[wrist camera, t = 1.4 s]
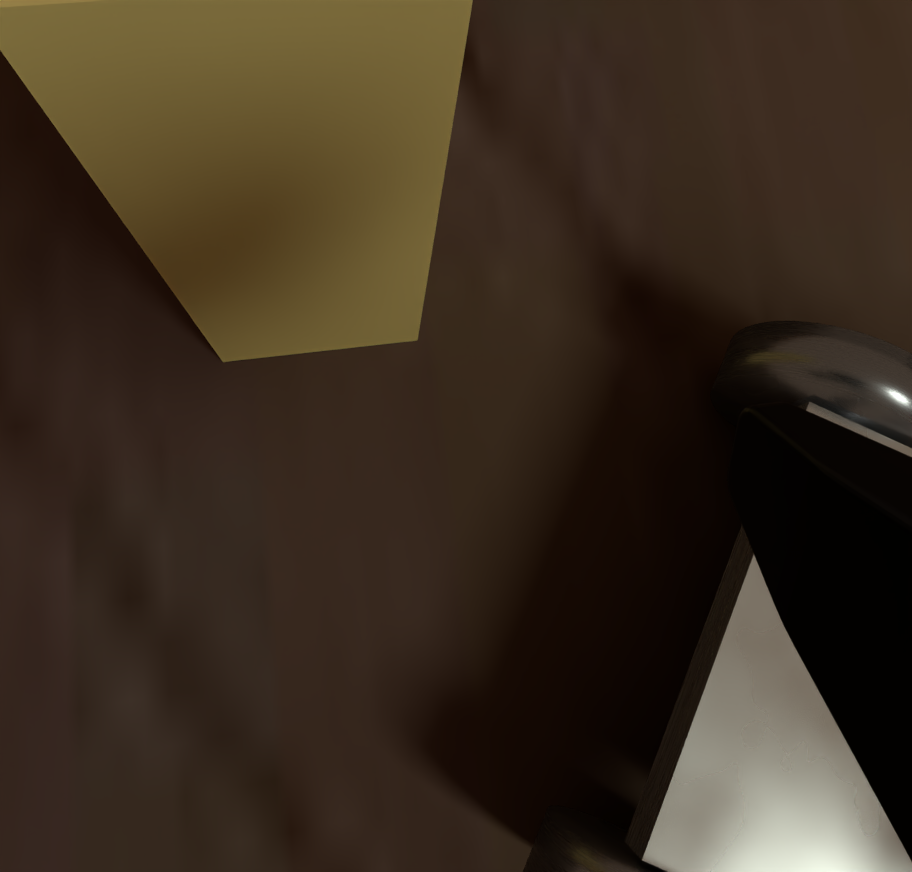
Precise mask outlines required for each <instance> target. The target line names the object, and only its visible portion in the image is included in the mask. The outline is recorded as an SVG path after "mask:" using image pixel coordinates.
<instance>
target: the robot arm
mask: <svg viewBox="0 0 912 872" xmlns="http://www.w3.org/2000/svg"><path fill="white" fill-rule="evenodd" d="M727 481H728V489H729V493H730V496H731V499H732V502H733V504H734V506H735V509H736V511H737V514H738V516H739V519H740V521H741V524H742V526H743V529H744V531H745V534H746V536H747V539H748V541H749V544H750V546H751V548H752V551H753V553H754V556H755V558H756V561H757V563H758V566H759V568H760V571H761V573H762V576H763V578H764V581H765V583H766V586H767V588H768V590H769V593H770V595H771V598H772V600H773V603H774V605H775V607H776V610H777V612H778V614H779V616H780V619H781V621H782V623H783V625H784V627H785V629H786V631H787V633H788V635H789V637H790V639H791V641H792V643H793V645H794V647H795V649H796V650H797V652H798V654H799V656H800V658H801V660H802V661H803V663H804V665H805V667H806V669H807V671H808V672H809V674H810V676H811V678H812V680H813V682H814V683H815V685H816V687H817V689H818V691H819V693H820V694H821V696H822V698H823V700H824V702H825V704H826V705H827V707H828V709H829V711H830V713H831V715H832V716H833V718H834V720H835V722H836V724H837V726H838V728H839V729H840V731H841V733H842V735H843V737H844V739H845V740H846V742H847V744H848V746H849V748H850V750H851V751H852V753H853V755H854V757H855V759H856V761H857V762H858V764H859V766H860V768H861V770H862V772H863V773H864V775H865V777H866V779H867V781H868V783H869V784H870V786H871V788H872V790H873V792H874V794H875V795H876V797H877V799H878V801H879V803H880V805H881V806H882V808H883V810H884V812H885V814H886V816H887V817H888V819H889V821H890V823H891V825H892V827H893V828H894V830H895V832H896V834H897V836H898V838H899V839H900V841H901V843H902V845H903V847H904V849H905V850H906V852H907V854H908V856H909V858H910V860H911V861H912V457H911V456H908V455H906V454H904V453H901V452H899V451H897V450H895V449H892V448H890V447H888V446H886V445H883V444H881V443H879V442H877V441H874V440H872V439H870V438H868V437H865V436H863V435H861V434H858V433H856V432H854V431H852V430H849V429H847V428H845V427H843V426H840V425H838V424H836V423H834V422H831V421H829V420H827V419H824V418H822V417H820V416H818V415H815V414H813V413H811V412H809V411H806V410H804V409H802V408H800V407H797V406H795V405H793V404H790V403H788V402H774V403H766V404H758V405H751V406H748V407H746V408H745V409H744V410H743V411H742V412H741V414H740V416H739V418H738V422H737V427H736V432H735V437H734V442H733V447H732V452H731V457H730V463H729V468H728V476H727Z"/></svg>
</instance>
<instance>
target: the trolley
mask: <svg viewBox="0 0 912 872" xmlns="http://www.w3.org/2000/svg"><path fill="white" fill-rule="evenodd" d="M710 396H711V401H712V403H713V405H714V407H715V408H716V409H717V411H718V412H719V413H720V414H721V415H722V416H723V417H724V418H725V419H727V420H728V421H729V422H730V423H732V424H733V425H735V426H736V427H737V422H738V418H739V416H740V414H741V412H742V411H743V410H744V409H745V408H746V407H748V406H751V405H758V404H766V403H774V402H788V403H790V404H793V405H795V406H797V407H800V408H802V409H804V410H806V411H809V412H811V413H813V414H815V415H818V416H820V417H822V418H824V419H827V420H829V421H831V422H834V423H836V424H838V425H840V426H843V427H845V428H847V429H849V430H852V431H854V432H856V433H858V434H861V435H863V436H865V437H868V438H870V439H872V440H874V441H877V442H879V443H881V444H883V445H886V446H888V447H890V448H892V449H895V450H897V451H899V452H901V453H904V454H906V455H908V456H911V457H912V354H911V353H909V352H907V351H905V350H903V349H901V348H899V347H897V346H895V345H893V344H890V343H888V342H886V341H883V340H881V339H878V338H875V337H872V336H869V335H867V334H863V333H860V332H856V331H853V330H849V329H845V328H840V327H836V326H831V325H825V324H819V323H811V322H801V321H773V322H764V323H759V324H754V325H751V326H748V327H746V328H744V329H742V330H740V331H738V332H737V333H736V334H735V335H734V336H733V338H732V339H731V341H730V344H729V346H728V349H727V352H726V354H725V357H724V359H723V362H722V364H721V367H720V369H719V372H718V375H717V377H716V380H715V382H714V385H713V387H712V390H711V394H710ZM523 872H912V861H911V860H910V858H909V856H908V854H907V852H906V850H905V849H904V847H903V845H902V843H901V841H900V839H899V838H898V836H897V834H896V832H895V830H894V828H893V827H892V825H891V823H890V821H889V819H888V817H887V816H886V814H885V812H884V810H883V808H882V806H881V805H880V803H879V801H878V799H877V797H876V795H875V794H874V792H873V790H872V788H871V786H870V784H869V783H868V781H867V779H866V777H865V775H864V773H863V772H862V770H861V768H860V766H859V764H858V762H857V761H856V759H855V757H854V755H853V753H852V751H851V750H850V748H849V746H848V744H847V742H846V740H845V739H844V737H843V735H842V733H841V731H840V729H839V728H838V726H837V724H836V722H835V720H834V718H833V716H832V715H831V713H830V711H829V709H828V707H827V705H826V704H825V702H824V700H823V698H822V696H821V694H820V693H819V691H818V689H817V687H816V685H815V683H814V682H813V680H812V678H811V676H810V674H809V672H808V671H807V669H806V667H805V665H804V663H803V661H802V660H801V658H800V656H799V654H798V652H797V650H796V649H795V647H794V645H793V643H792V641H791V639H790V637H789V635H788V633H787V631H786V629H785V627H784V625H783V623H782V621H781V619H780V616H779V614H778V612H777V610H776V607H775V605H774V603H773V600H772V598H771V595H770V593H769V590H768V588H767V586H766V583H765V581H764V578H763V576H762V573H761V571H760V568H759V566H758V563H757V561H756V558H755V556H754V553H753V551H752V548H751V546H750V544H749V541H748V539H747V536H746V534H745V531H744V529H743V526H742V525H741V528H740V531H739V533H738V536H737V539H736V542H735V544H734V547H733V550H732V552H731V555H730V558H729V560H728V563H727V566H726V569H725V571H724V574H723V577H722V579H721V582H720V585H719V587H718V590H717V593H716V595H715V598H714V601H713V604H712V606H711V609H710V612H709V614H708V617H707V620H706V622H705V625H704V628H703V630H702V633H701V636H700V639H699V641H698V644H697V647H696V649H695V652H694V655H693V657H692V660H691V663H690V666H689V668H688V671H687V674H686V676H685V679H684V682H683V684H682V687H681V690H680V692H679V695H678V698H677V701H676V703H675V706H674V709H673V711H672V714H671V717H670V719H669V722H668V725H667V728H666V730H665V733H664V736H663V738H662V741H661V744H660V746H659V749H658V752H657V754H656V757H655V760H654V763H653V765H652V768H651V771H650V773H649V776H648V779H647V781H646V784H645V787H644V789H643V792H642V795H641V798H640V800H639V803H638V806H637V808H636V811H635V814H634V816H633V819H632V822H631V825H630V827H629V830H625V829H623V828H621V827H619V826H616V825H614V824H612V823H609V822H607V821H605V820H602V819H600V818H597V817H595V816H592V815H589V814H586V813H584V812H581V811H577V810H574V809H571V808H567V807H562V806H549V807H548V809H547V811H546V814H545V816H544V819H543V821H542V824H541V827H540V829H539V832H538V834H537V837H536V839H535V842H534V844H533V847H532V850H531V852H530V855H529V857H528V860H527V862H526V865H525V867H524V870H523Z"/></svg>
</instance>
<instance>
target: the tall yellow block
mask: <svg viewBox="0 0 912 872" xmlns="http://www.w3.org/2000/svg"><path fill="white" fill-rule="evenodd" d="M472 1H473V0H0V50H1V52H2V53H3V55H4V56H5V57H6V59H7V60H8V62H9V63H10V64H11V66H12V67H13V69H14V70H15V71H16V73H17V74H18V76H19V77H20V78H21V80H22V81H23V83H24V84H25V85H26V87H27V88H28V90H29V91H30V93H31V94H32V95H33V97H34V98H35V100H36V101H37V102H38V104H39V105H40V107H41V108H42V109H43V111H44V112H45V114H46V115H47V116H48V118H49V119H50V121H51V122H52V123H53V125H54V126H55V128H56V129H57V130H58V132H59V133H60V135H61V136H62V137H63V139H64V140H65V142H66V143H67V144H68V146H69V147H70V149H71V150H72V151H73V153H74V154H75V156H76V157H77V158H78V160H79V161H80V163H81V164H82V165H83V167H84V168H85V170H86V171H87V172H88V174H89V175H90V177H91V178H92V179H93V181H94V182H95V184H96V185H97V186H98V188H99V189H100V191H101V192H102V193H103V195H104V196H105V198H106V199H107V200H108V202H109V203H110V205H111V206H112V207H113V209H114V210H115V212H116V213H117V214H118V216H119V217H120V219H121V220H122V221H123V223H124V224H125V226H126V227H127V228H128V230H129V231H130V233H131V234H132V235H133V237H134V238H135V240H136V241H137V242H138V244H139V245H140V247H141V248H142V249H143V251H144V252H145V254H146V255H147V256H148V258H149V259H150V261H151V262H152V263H153V265H154V266H155V268H156V269H157V270H158V272H159V273H160V275H161V276H162V277H163V279H164V280H165V282H166V283H167V284H168V286H169V287H170V289H171V290H172V292H173V293H174V294H175V296H176V297H177V299H178V300H179V301H180V303H181V304H182V306H183V307H184V308H185V310H186V311H187V313H188V314H189V315H190V317H191V318H192V320H193V321H194V322H195V324H196V325H197V327H198V328H199V329H200V331H201V332H202V334H203V335H204V336H205V338H206V339H207V341H208V342H209V343H210V345H211V346H212V348H213V349H214V350H215V352H216V353H217V355H218V356H219V357H220V359H221V360H222V362H228V361H237V360H246V359H255V358H264V357H273V356H282V355H291V354H300V353H309V352H318V351H327V350H336V349H344V348H353V347H362V346H371V345H380V344H389V343H398V342H407V341H416V340H417V339H418V333H419V327H420V321H421V315H422V309H423V302H424V296H425V290H426V284H427V278H428V272H429V266H430V259H431V253H432V247H433V241H434V235H435V229H436V223H437V216H438V210H439V204H440V198H441V192H442V186H443V180H444V173H445V167H446V161H447V155H448V149H449V143H450V137H451V130H452V124H453V118H454V112H455V106H456V100H457V93H458V87H459V81H460V75H461V69H462V63H463V57H464V50H465V44H466V38H467V32H468V26H469V20H470V14H471V7H472Z"/></svg>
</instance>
